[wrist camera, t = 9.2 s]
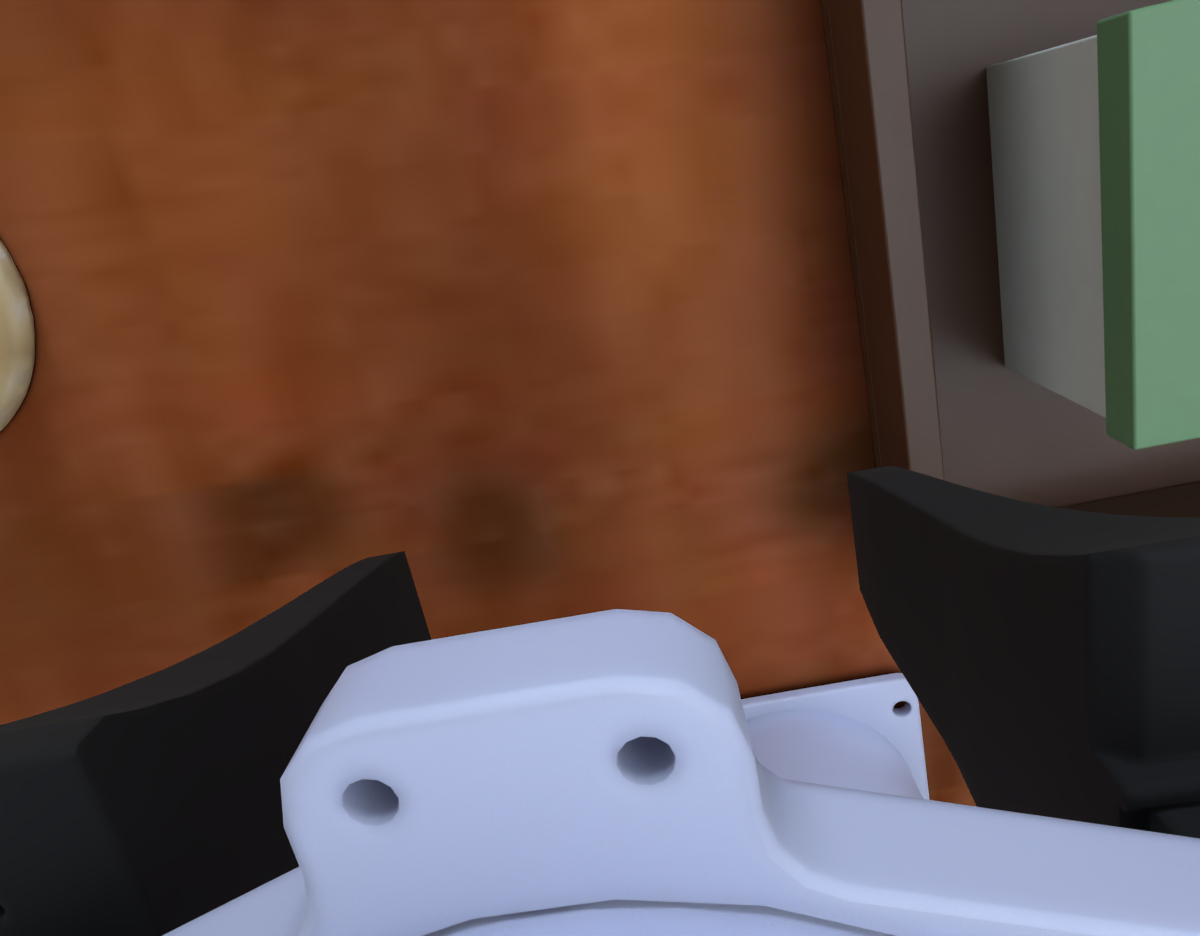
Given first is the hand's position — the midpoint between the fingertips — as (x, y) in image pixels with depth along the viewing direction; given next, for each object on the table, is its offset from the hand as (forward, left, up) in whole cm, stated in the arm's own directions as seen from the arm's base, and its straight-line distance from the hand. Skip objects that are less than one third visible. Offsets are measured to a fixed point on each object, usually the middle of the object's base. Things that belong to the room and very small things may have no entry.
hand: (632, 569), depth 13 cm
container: (+3, -12, -9) cm, 15 cm away
